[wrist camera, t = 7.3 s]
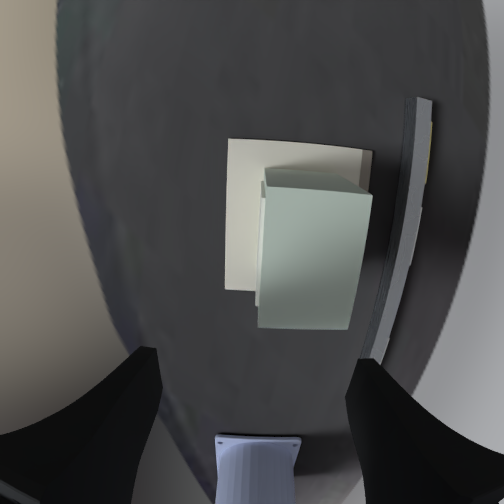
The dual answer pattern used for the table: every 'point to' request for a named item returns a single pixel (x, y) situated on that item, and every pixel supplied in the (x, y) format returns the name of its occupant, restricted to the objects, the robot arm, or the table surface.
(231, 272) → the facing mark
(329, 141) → the table surface
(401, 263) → the rail
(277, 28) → the table surface
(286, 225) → the sage carton
